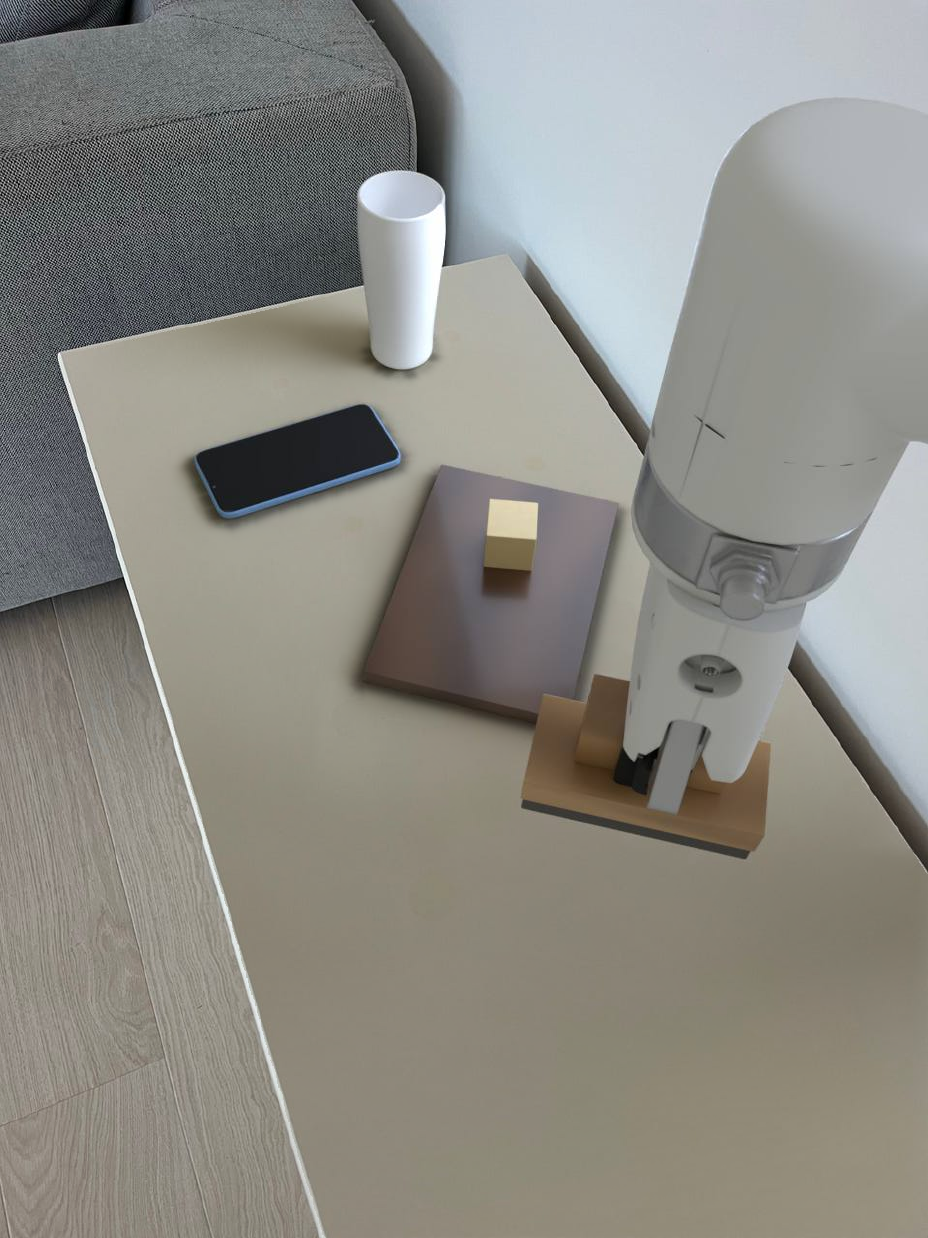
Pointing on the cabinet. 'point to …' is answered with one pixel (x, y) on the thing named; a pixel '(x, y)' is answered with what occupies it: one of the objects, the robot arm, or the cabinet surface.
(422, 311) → the drinking glass
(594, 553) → the book
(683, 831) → the brown block with base
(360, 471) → the smartphone
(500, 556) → the cream foam cube
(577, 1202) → the cabinet surface
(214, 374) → the cabinet surface
